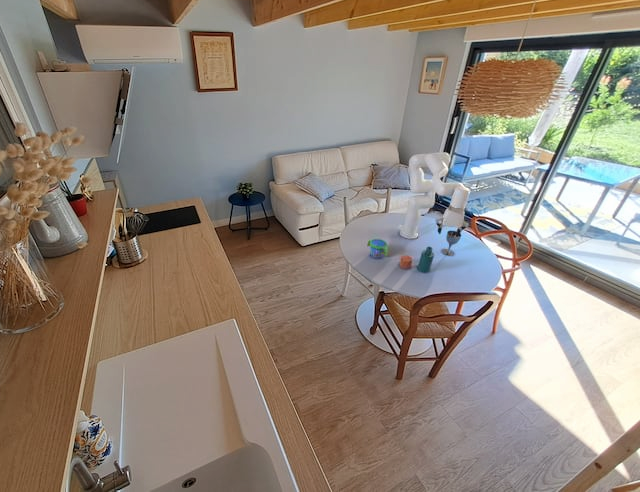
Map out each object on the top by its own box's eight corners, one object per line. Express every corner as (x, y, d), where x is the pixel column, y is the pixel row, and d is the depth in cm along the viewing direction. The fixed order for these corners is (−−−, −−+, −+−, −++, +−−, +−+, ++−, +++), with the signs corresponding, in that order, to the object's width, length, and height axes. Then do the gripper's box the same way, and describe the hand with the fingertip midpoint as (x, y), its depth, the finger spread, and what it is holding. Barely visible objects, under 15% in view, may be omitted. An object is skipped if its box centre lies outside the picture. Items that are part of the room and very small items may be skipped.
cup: (397, 265, 181) (399, 257, 178) (403, 261, 185) (404, 253, 182) (406, 270, 177) (408, 262, 174) (412, 266, 180) (414, 258, 177)
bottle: (415, 268, 178) (421, 247, 170) (421, 264, 182) (427, 243, 174) (425, 274, 173) (432, 252, 166) (431, 269, 177) (438, 248, 169)
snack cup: (362, 251, 195) (364, 239, 190) (374, 247, 199) (376, 235, 194) (378, 264, 182) (380, 251, 177) (390, 259, 186) (393, 246, 181)
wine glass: (456, 256, 189) (463, 237, 181) (443, 255, 190) (449, 236, 183) (452, 249, 195) (458, 231, 188) (439, 248, 197) (445, 230, 189)
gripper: (471, 207, 162) (462, 233, 170) (438, 203, 167) (431, 228, 175) (475, 213, 156) (465, 239, 164) (440, 209, 160) (433, 235, 169)
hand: (448, 234), depth 169 cm, fingers open, 9 cm apart
